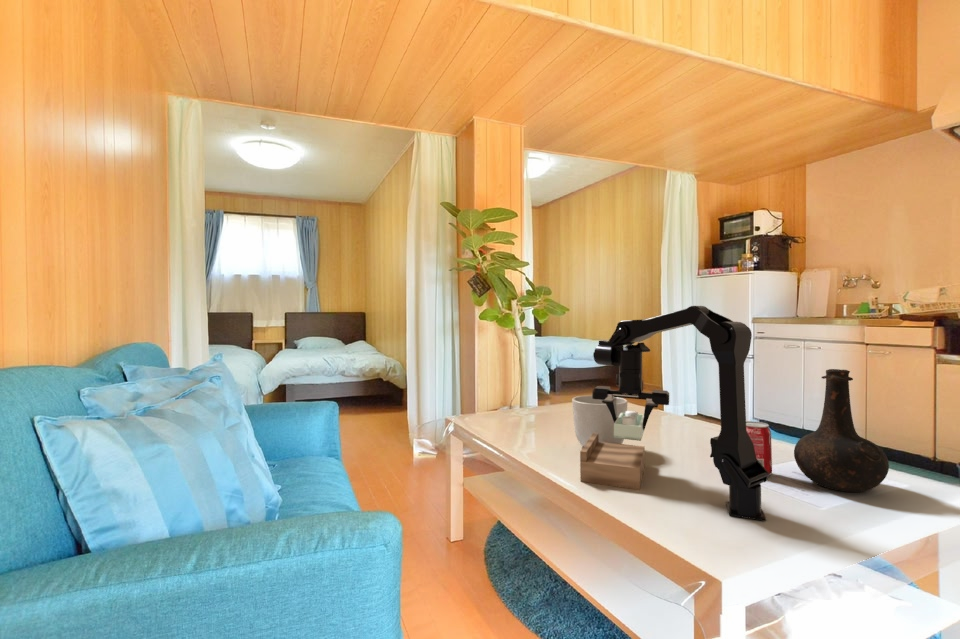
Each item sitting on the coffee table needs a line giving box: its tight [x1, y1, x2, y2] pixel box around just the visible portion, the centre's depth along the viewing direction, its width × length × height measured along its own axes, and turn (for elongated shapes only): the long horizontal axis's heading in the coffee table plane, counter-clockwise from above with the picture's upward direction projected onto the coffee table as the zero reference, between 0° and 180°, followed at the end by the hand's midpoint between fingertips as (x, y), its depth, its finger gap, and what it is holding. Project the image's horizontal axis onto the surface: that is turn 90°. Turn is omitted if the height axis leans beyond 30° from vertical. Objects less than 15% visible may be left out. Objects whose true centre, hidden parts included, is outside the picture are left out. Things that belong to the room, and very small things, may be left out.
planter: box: [571, 394, 629, 447], centre depth 140 cm, size 17×17×15 cm
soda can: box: [746, 420, 773, 477], centre depth 115 cm, size 7×7×13 cm
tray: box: [614, 410, 646, 442], centre depth 116 cm, size 14×6×5 cm, turn 155°
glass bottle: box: [793, 368, 890, 493], centre depth 107 cm, size 18×18×28 cm
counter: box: [579, 433, 646, 490], centre depth 117 cm, size 20×14×8 cm
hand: (630, 427), depth 116 cm, fingers closed on tray, 6 cm apart
